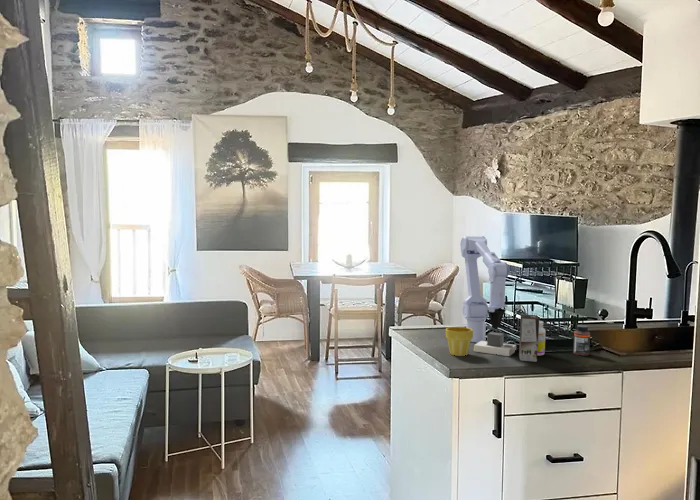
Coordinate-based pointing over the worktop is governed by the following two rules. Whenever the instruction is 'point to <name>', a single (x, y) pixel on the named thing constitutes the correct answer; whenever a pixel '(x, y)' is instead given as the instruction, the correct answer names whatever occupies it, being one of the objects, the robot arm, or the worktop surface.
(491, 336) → the plug
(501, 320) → the robot arm
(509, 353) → the socket
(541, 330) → the supplement bottle
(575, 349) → the supplement bottle
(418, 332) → the worktop surface
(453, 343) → the plant pot
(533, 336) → the coffee box
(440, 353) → the worktop surface
